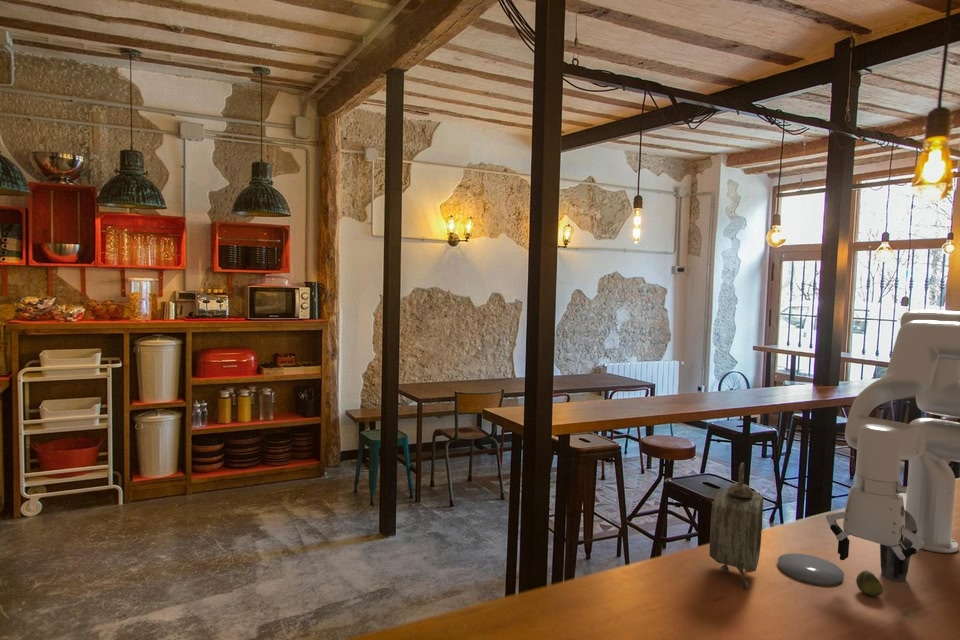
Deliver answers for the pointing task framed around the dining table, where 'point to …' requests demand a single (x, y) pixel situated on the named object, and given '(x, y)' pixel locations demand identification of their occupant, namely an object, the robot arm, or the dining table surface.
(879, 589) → the lime
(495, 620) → the dining table surface
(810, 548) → the dining table surface
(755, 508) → the tabletop clock
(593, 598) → the dining table surface
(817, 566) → the slate plate
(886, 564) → the beverage cup
